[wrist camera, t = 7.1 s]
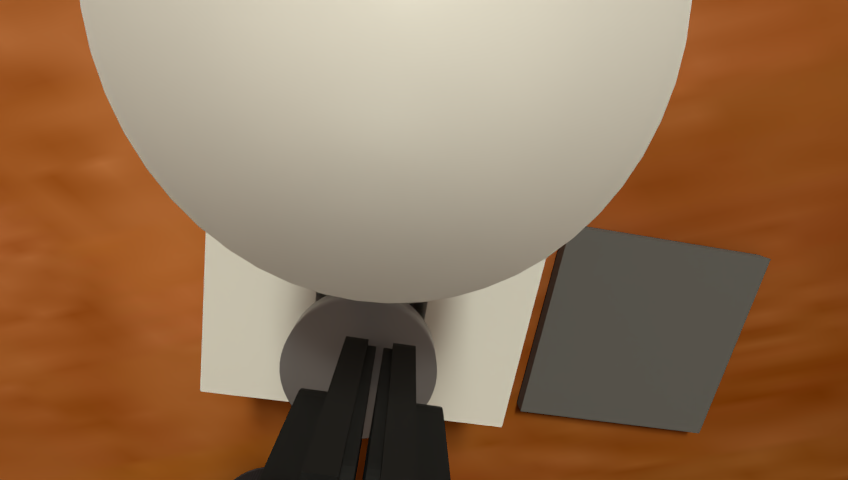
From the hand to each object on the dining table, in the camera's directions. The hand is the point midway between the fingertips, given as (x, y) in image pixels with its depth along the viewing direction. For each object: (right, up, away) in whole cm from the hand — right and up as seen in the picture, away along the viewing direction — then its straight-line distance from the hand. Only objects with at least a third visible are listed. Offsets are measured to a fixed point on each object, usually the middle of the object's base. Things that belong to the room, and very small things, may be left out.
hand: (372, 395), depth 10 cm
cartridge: (0, +9, +6) cm, 11 cm away
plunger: (-1, +2, +6) cm, 7 cm away
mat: (+11, -1, +9) cm, 14 cm away
